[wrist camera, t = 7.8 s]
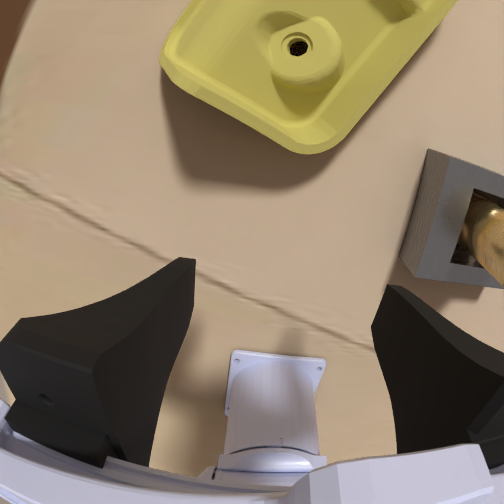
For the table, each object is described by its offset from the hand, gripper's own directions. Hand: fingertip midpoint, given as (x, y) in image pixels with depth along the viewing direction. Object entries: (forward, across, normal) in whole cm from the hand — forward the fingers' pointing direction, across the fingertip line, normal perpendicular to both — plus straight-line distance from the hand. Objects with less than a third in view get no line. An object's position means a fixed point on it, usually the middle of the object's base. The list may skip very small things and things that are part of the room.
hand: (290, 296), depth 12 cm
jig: (+10, -14, -2) cm, 17 cm away
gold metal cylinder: (+10, -14, -2) cm, 17 cm away
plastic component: (+10, -1, -14) cm, 18 cm away
